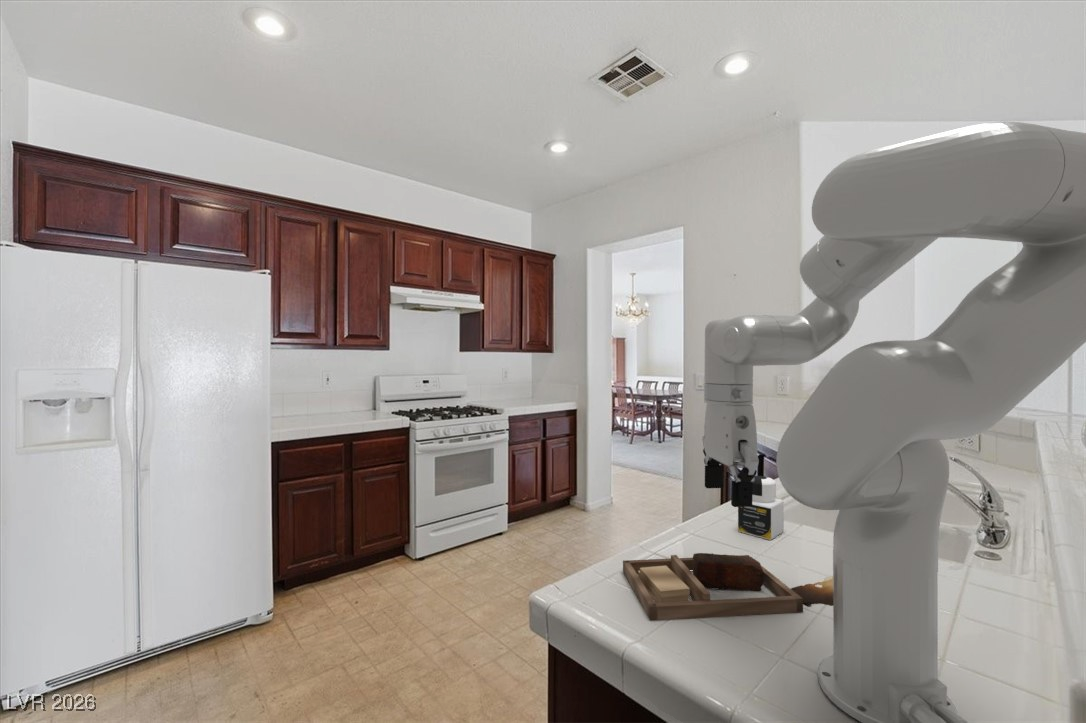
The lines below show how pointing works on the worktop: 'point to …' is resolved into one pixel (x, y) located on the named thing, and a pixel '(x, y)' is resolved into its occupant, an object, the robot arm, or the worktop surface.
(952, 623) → the worktop surface
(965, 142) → the robot arm
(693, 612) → the rack
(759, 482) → the medicine bottle
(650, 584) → the offcut stack
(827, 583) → the parchment
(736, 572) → the brick
